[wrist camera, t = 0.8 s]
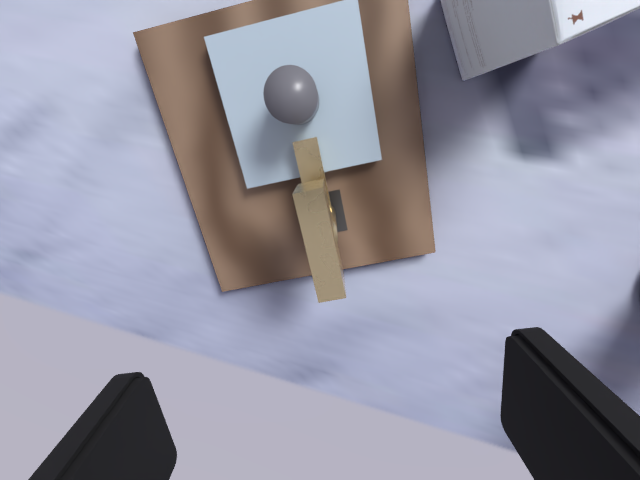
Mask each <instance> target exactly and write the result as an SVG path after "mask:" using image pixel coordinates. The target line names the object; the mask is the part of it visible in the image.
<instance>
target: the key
mask: <svg viewBox="0 0 640 480" xmlns="http://www.w3.org/2000/svg"><path fill="white" fill-rule="evenodd" d="M292 143H293V147H294V152H295V156H296V160H297V165H298V169H299V173H300V178H301V182H302V183H301V184H298V185H297V187H296V188H295V190H294V192H293V194H292V195H293V199H294V203H295V207H296V211H297V216H298V220H299V224H300V228H301V232H302V236H303V240H304V244H305V248H306V253H307V257H308V261H309V265H310V269H311V273H312V277H313V281H314V285H315V290H316V294H317V298H318V302H319V303H320V302H326V301H332V300H337V299H343V298H346V291H345V281H344V273H343V268H342V263H341V258H340V254H339V249H338V244H337V242H338V236H337V224H336V212H335V209H334V208H333V207H332V206H331V202H330V197H329V192H328V187H327V182H326V178H325V173H324V168H323V163H322V158H321V153H320V149H319V144H318V139H317V137H313V138H309V139H304V140H300V141H295V142H292Z"/></svg>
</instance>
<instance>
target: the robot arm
mask: <svg viewBox="0 0 640 480" xmlns="http://www.w3.org/2000/svg"><path fill="white" fill-rule="evenodd" d="M501 422H502V426H503V428H504V431H505V432H506V434H507V436H508V437H509V439H510V441H511V442H512V444H513V446H514V447H515V449H516V450H517V452H518V454H519V455H520V457H521V459H522V460H523V462H524V463H525V465H526V467H527V468H528V470H529V472H530V473H531V475H532V476H533V478H534V480H640V416H639V415H638V414H637V413H635V412H634V411H633V410H632V409H631V408H630V407H629V406H628V405H627V404H625V403H624V402H623V401H622V400H621V399H620V398H619V397H618V396H617V395H615V394H614V393H613V392H612V391H611V390H610V389H609V388H608V387H606V386H605V385H604V384H603V383H602V382H601V381H600V380H599V379H598V378H596V377H595V376H594V375H593V374H592V373H591V372H590V371H589V370H588V369H586V368H585V367H584V366H583V365H582V364H581V363H580V362H579V361H577V360H576V359H575V358H574V357H573V356H572V355H571V354H570V353H569V352H567V351H566V350H565V349H564V348H563V347H562V346H561V345H560V344H559V343H557V342H556V341H555V340H554V339H553V338H552V337H551V336H550V335H549V334H547V333H546V332H545V331H544V330H543V329H541V328H539V327H534V328H525V329H516V330H513V332H512V334H511V336H509V337H507V338H506V342H505V356H504V371H503V387H502V402H501ZM176 458H177V451H176V448H175V445H174V442H173V440H172V437H171V434H170V432H169V429H168V426H167V424H166V421H165V418H164V416H163V413H162V410H161V408H160V405H159V403H158V400H157V397H156V395H155V392H154V389H153V387H152V384H151V381H150V379H149V378H147V377H144V375H143V374H142V373H141V372H135V373H126V374H118V375H115V376H114V377H113V378H112V379H111V380H110V382H109V383H108V384H107V385H106V386H105V388H104V389H103V390H102V391H101V392H100V394H99V395H98V396H97V397H96V398H95V400H94V401H93V402H92V403H91V404H90V406H89V407H88V408H87V409H86V410H85V412H84V413H83V414H82V415H81V416H80V418H79V419H78V420H77V421H76V423H75V424H74V425H73V426H72V427H71V429H70V430H69V431H68V432H67V434H66V435H65V436H64V437H63V438H62V440H61V441H60V442H59V443H58V444H57V446H56V447H55V448H54V449H53V450H52V452H51V453H50V454H49V455H48V457H47V458H46V459H45V460H44V461H43V463H42V464H41V465H40V466H39V467H38V469H37V470H36V471H35V472H34V473H33V475H32V476H31V477H30V478H29V480H169V478H170V476H171V473H172V471H173V469H174V467H175V464H176Z"/></svg>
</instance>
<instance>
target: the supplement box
mask: <svg viewBox="0 0 640 480" xmlns="http://www.w3.org/2000/svg"><path fill="white" fill-rule="evenodd" d="M440 1H441V5H442V9H443V13H444V16H445V20H446V24H447V27H448V31H449V34H450V38H451V42H452V45H453V49H454V53H455V56H456V60H457V63H458V67H459V70H460V74H461V78H462V81H465V80H468V79H471V78H473V77H476V76H479V75H481V74H484V73H486V72H489V71H492V70H494V69H497V68H500V67H502V66H505V65H508V64H510V63H513V62H515V61H518V60H521V59H523V58H526V57H529V56H531V55H534V54H537V53H539V52H542V51H545V50H547V49H550V48H553V47H556V46H558V45H560V44H563V43H565V42H567V41H570V40H572V39H574V38H576V37H579V36H581V35H583V34H586V33H588V32H590V31H592V30H594V29H597V28H599V27H601V26H603V25H605V24H608V23H610V22H612V21H614V20H616V19H618V18H620V17H622V16H625V15H627V14H629V13H631V12H633V11H635V10H637V9H639V8H640V0H440Z"/></svg>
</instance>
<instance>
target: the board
mask: <svg viewBox="0 0 640 480" xmlns="http://www.w3.org/2000/svg"><path fill="white" fill-rule="evenodd" d="M339 1H343V0H252V1H249V2H245V3H241V4H238V5H234V6H230V7H226V8H223V9H219V10H215V11H211V12H208V13H204V14H200V15H197V16H193V17H189V18H185V19H182V20H178V21H174V22H171V23H167V24H163V25H159V26H156V27H152V28H148V29H145V30H141V31H137V32H133V34H134V37H135V40H136V43H137V46H138V49H139V51H140V54H141V57H142V60H143V63H144V66H145V69H146V72H147V75H148V78H149V81H150V83H151V86H152V89H153V92H154V95H155V98H156V101H157V104H158V107H159V110H160V112H161V115H162V118H163V121H164V124H165V127H166V130H167V133H168V136H169V139H170V141H171V144H172V147H173V150H174V153H175V156H176V159H177V162H178V165H179V168H180V170H181V173H182V176H183V179H184V182H185V185H186V188H187V191H188V194H189V197H190V200H191V202H192V205H193V208H194V211H195V214H196V217H197V220H198V223H199V226H200V229H201V231H202V234H203V237H204V240H205V243H206V246H207V249H208V252H209V255H210V258H211V260H212V263H213V266H214V269H215V272H216V275H217V278H218V281H219V284H220V287H221V289H222V292H224V291H229V290H235V289H240V288H245V287H251V286H256V285H262V284H267V283H272V282H278V281H283V280H289V279H294V278H299V277H305V276H310V275H312V273H311V269H310V265H309V261H308V257H307V253H306V248H305V244H304V240H303V236H302V232H301V228H300V224H299V220H298V216H297V211H296V207H295V203H294V199H293V195H292V194H293V192H294V190H295V188H296V187H297V185H298V184H301V183H302V182H301V178H300V177H299V178H295V179H290V180H285V181H281V182H276V183H271V184H267V185H262V186H257V187H253V188H248V189H247V186H246V183H245V179H244V176H243V172H242V169H241V165H240V162H239V158H238V155H237V151H236V148H235V144H234V141H233V137H232V134H231V130H230V127H229V123H228V120H227V116H226V113H225V109H224V106H223V102H222V99H221V95H220V92H219V88H218V85H217V81H216V78H215V74H214V71H213V67H212V64H211V60H210V57H209V53H208V50H207V46H206V43H205V39H204V37H205V36H209V35H213V34H217V33H221V32H224V31H228V30H232V29H236V28H240V27H243V26H247V25H251V24H255V23H259V22H262V21H266V20H270V19H274V18H278V17H282V16H285V15H289V14H293V13H297V12H301V11H304V10H308V9H312V8H316V7H320V6H323V5H327V4H331V3H335V2H339ZM358 4H359V11H360V17H361V24H362V31H363V37H364V44H365V51H366V57H367V64H368V71H369V77H370V84H371V91H372V97H373V104H374V111H375V117H376V124H377V131H378V137H379V144H380V151H381V157H382V160H379V161H374V162H369V163H365V164H360V165H355V166H351V167H346V168H341V169H337V170H332V171H327V172H324V173H325V178H326V182H327V187H328V192H329V197H330V202H331V206H332V207H333V208H334V209H335V212H336V224H337V236H338V242H337V244H338V249H339V254H340V258H341V263H342V268H343V269H348V268H353V267H359V266H364V265H369V264H375V263H380V262H386V261H391V260H396V259H402V258H407V257H413V256H418V255H423V254H429V253H434V252H435V243H434V234H433V225H432V215H431V206H430V197H429V188H428V179H427V170H426V160H425V151H424V142H423V133H422V124H421V115H420V105H419V96H418V87H417V78H416V69H415V60H414V50H413V41H412V32H411V23H410V14H409V5H408V0H358Z"/></svg>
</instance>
